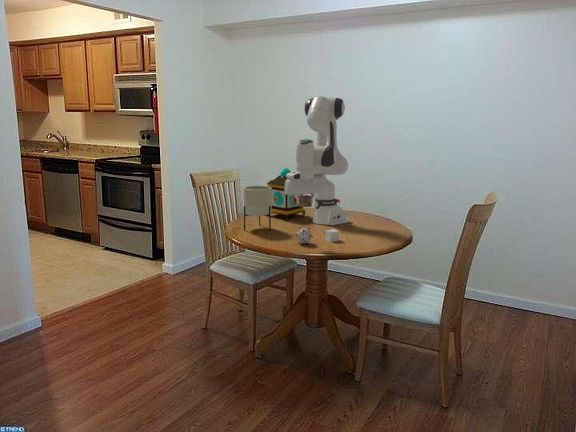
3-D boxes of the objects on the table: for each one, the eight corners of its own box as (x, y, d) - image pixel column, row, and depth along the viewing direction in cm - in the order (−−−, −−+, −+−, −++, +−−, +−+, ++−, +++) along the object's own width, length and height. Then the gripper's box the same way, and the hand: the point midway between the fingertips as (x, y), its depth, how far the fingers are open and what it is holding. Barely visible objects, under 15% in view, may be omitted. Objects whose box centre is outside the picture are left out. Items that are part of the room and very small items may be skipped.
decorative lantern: (263, 216, 289) (262, 167, 282) (284, 211, 303) (285, 165, 296) (286, 221, 275) (287, 170, 269) (308, 216, 290) (309, 167, 283)
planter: (239, 227, 260) (238, 186, 255) (264, 224, 267) (264, 184, 262) (249, 233, 247) (248, 190, 242) (276, 230, 254) (276, 188, 249)
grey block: (333, 238, 239) (334, 229, 238) (338, 240, 234) (339, 231, 233) (325, 239, 237) (325, 230, 235) (330, 242, 232) (330, 232, 231)
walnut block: (306, 204, 228) (307, 194, 227) (311, 206, 223) (311, 196, 222) (297, 205, 226) (297, 195, 225) (302, 207, 221) (302, 197, 220)
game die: (300, 250, 230) (290, 233, 232) (314, 243, 232) (305, 225, 234) (302, 246, 222) (293, 228, 224) (318, 238, 224) (308, 220, 226)
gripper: (320, 172, 228) (320, 200, 231) (283, 174, 220) (282, 203, 223) (327, 174, 223) (326, 202, 226) (288, 176, 214) (288, 205, 217)
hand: (304, 202), depth 224 cm, fingers closed on walnut block, 5 cm apart
